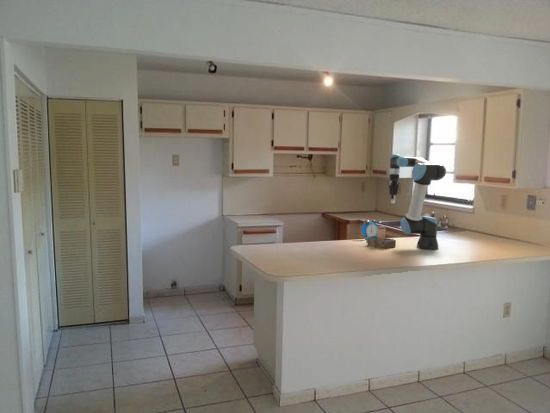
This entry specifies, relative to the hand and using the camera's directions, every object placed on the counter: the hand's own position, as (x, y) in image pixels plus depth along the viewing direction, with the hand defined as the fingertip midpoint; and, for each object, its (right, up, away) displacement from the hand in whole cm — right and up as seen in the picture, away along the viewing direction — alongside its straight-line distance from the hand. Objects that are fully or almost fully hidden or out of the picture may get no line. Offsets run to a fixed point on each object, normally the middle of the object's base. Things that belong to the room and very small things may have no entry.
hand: (392, 203), depth 369 cm
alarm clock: (-17, -29, +6) cm, 34 cm away
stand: (-16, -32, -27) cm, 45 cm away
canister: (-16, -30, -27) cm, 43 cm away
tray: (-16, -30, -26) cm, 43 cm away
